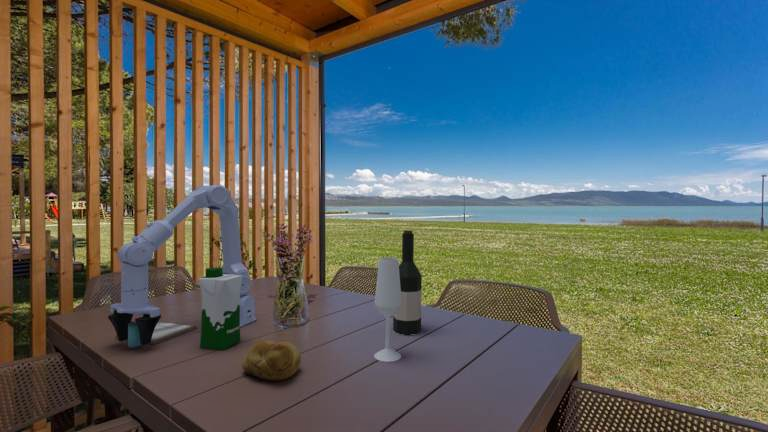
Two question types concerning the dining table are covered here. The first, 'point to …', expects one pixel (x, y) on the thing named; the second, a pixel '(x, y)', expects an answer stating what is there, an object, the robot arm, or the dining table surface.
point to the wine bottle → (408, 290)
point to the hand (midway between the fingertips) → (134, 342)
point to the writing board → (168, 331)
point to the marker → (133, 335)
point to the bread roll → (272, 360)
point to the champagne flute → (388, 301)
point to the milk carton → (220, 309)
